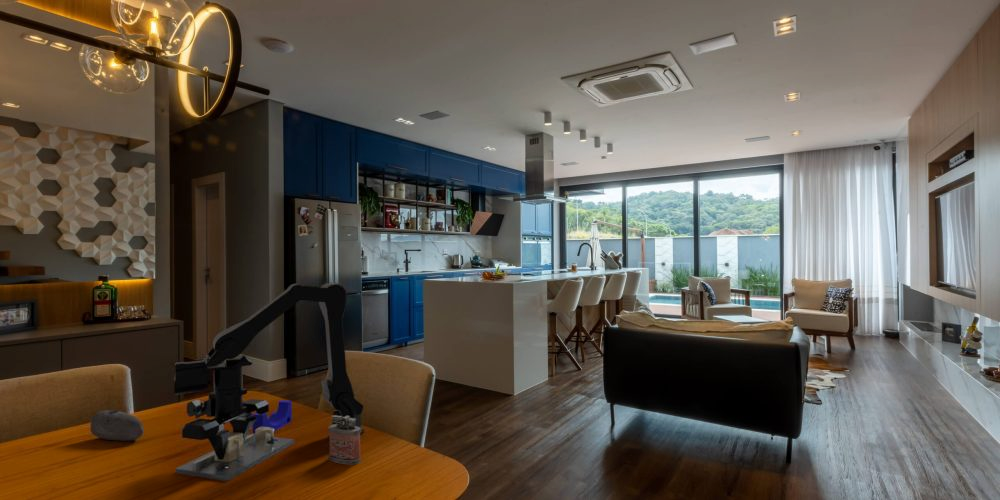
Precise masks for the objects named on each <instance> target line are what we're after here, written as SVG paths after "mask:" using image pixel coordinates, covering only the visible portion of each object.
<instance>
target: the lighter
mask: <svg viewBox="0 0 1000 500" xmlns="http://www.w3.org/2000/svg"><path fill="white" fill-rule="evenodd" d="M332 422H336V423H337V424H333V425H332V424H331V425H329V426H328V432H329V455H328V461H330V462H333V463H337V464H344V465H357V464H359V463H361V462H362V457H361V434H360V432H361V429H362V427H361V428H360V427H357V426H355V423H356V419H354V418H350V416H345V417H342V416H336V415H334V414H333V415H332V416H331V423H332Z"/></svg>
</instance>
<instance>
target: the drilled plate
mask: <svg viewBox="0 0 1000 500" xmlns="http://www.w3.org/2000/svg"><path fill="white" fill-rule="evenodd" d="M274 432H275V431H274V429H273V428H270V427H259V428H257V429H255V433H254V434H253V433H252V434H251V433H248V434H247V436H246V438H245V440H244V442H243V455H242V456H240V458H239V459H237V458H236V459H234V460H232V461H231V462H222V461H215V460H214V450H212V451H210V452H207V453H206V454H204V455H201V456H200V457H199V456H198V457H197V458H195V459H193V460H191V461H188V462H187V463H185V464H182V465H180V466H177V468H175V474H179V475H185V476H193V477H198V478H204V479H211V480H216V481H224V482H225V481H226V482H228V481H230V480H232V479H234V478H236V477H238V476H240V475H241V474H242V473H245V472H246V471H247V470H249V469H251V468H253V467H256V466H257V465H259V464H260V463H262V462H264V461H266V460H267V459H269V458H271V457H273V456H274V455H276V454H278V453H280V452H282V451H283V450H285V449H287V448H288V447H290V446H292V445H295V439H293V438H283V437H276V436H275V435H274V434H275V433H274Z"/></svg>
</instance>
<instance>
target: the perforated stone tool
mask: <svg viewBox="0 0 1000 500" xmlns="http://www.w3.org/2000/svg"><path fill="white" fill-rule="evenodd" d="M89 429H90V433H91V434H92V435H93V436H94V437H97V438H99V439H102V440H107V441H108V440H110V441H122V442H124V441H125V442H126V441H127V442H130V441H136V440H139V439H140V438H141V437H142V436H143V434H144V431H145V429H144V425H143V423H142V422H141V420H140V419H139V418H137V417H136V416H135V415H132V414H129V413H126V412H124V411H119V410H112V409H110V410H109V409H104V410H103V409H102V410H100V411H96V413H94V414H93V415H92V416H91V420H90V426H89Z"/></svg>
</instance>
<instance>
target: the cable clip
mask: <svg viewBox="0 0 1000 500" xmlns="http://www.w3.org/2000/svg"><path fill="white" fill-rule="evenodd" d="M292 405H293V404H292V400H284V399H283V400H279V401H278V405H277V410H275V411H274V412H272V413H271V414H270V415H269V417H268V412H267V413H264V414H262V415H258V414H257V413H256V412H255V413H252V414H253V417H257V420H256V421H255V422H254V423H253V425H252V434H254V433H255V429H257V428H259V427H270V428H273V429H274V432H276V431H277V430H279V429H281V428H283V427H284V426H286V425H288V424H289V422H290V423H292V420H293V419H292V412H293V411H292V408H293V407H292Z"/></svg>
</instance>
